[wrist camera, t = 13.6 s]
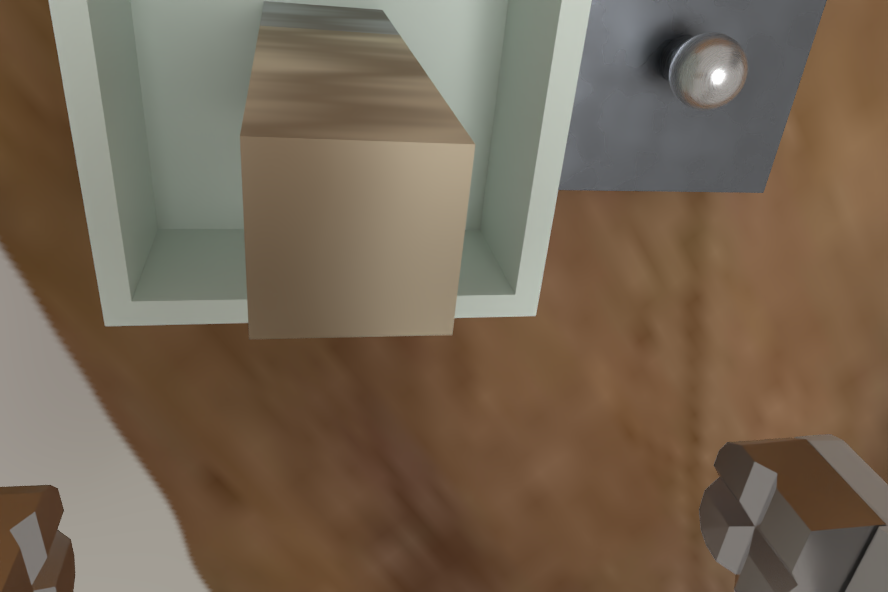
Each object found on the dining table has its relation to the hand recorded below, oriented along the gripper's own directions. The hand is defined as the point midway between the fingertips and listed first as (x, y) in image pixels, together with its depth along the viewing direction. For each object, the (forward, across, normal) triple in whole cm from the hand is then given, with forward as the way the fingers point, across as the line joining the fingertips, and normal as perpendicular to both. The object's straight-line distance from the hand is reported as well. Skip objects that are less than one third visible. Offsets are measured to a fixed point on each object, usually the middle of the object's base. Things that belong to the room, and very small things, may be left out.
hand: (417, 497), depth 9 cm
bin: (+24, 0, 0) cm, 24 cm away
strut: (+23, 0, 0) cm, 23 cm away
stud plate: (+24, -15, -1) cm, 28 cm away
